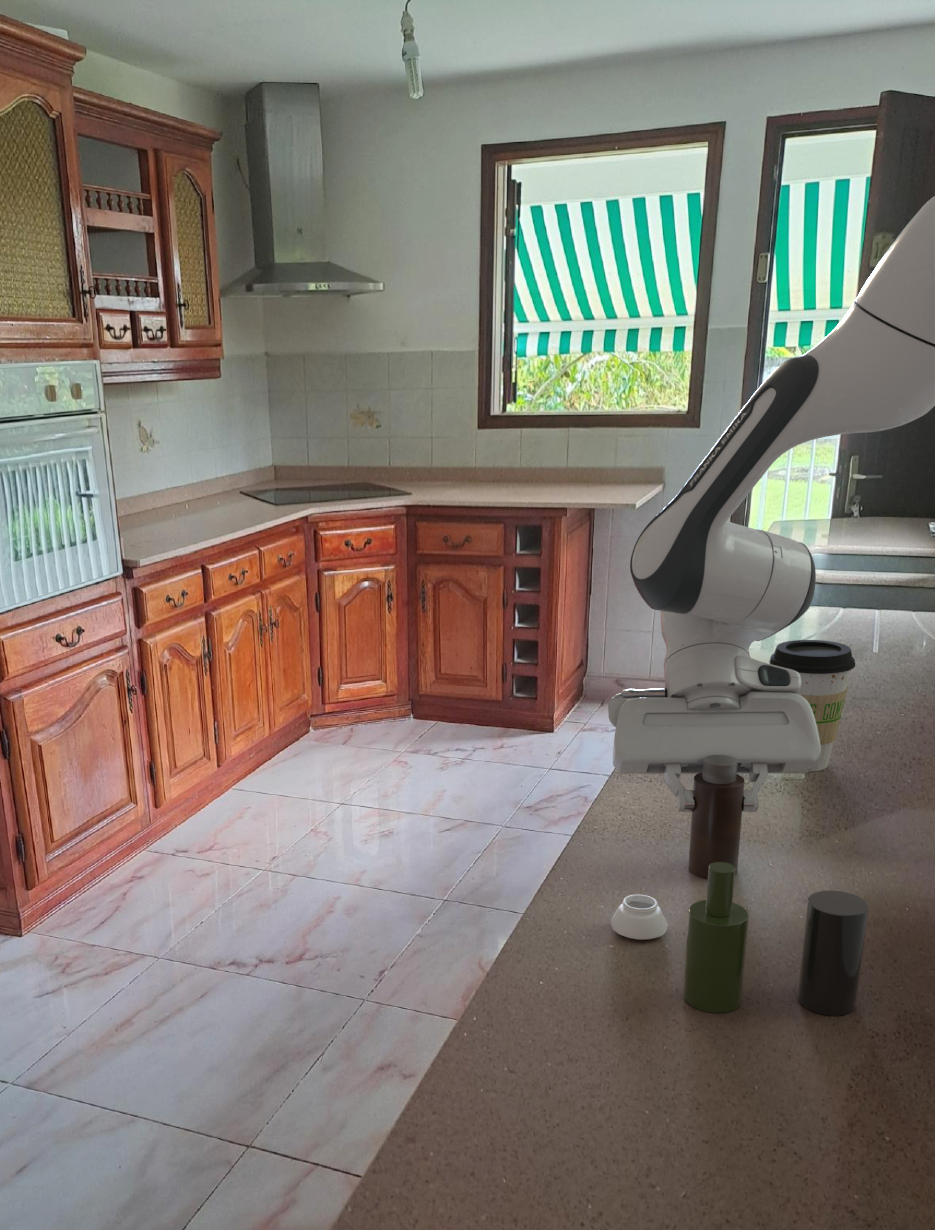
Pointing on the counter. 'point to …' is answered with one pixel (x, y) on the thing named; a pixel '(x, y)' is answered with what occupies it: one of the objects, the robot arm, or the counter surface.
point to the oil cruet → (716, 945)
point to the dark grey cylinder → (832, 952)
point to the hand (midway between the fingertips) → (718, 809)
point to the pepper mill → (716, 815)
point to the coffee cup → (819, 683)
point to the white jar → (639, 918)
